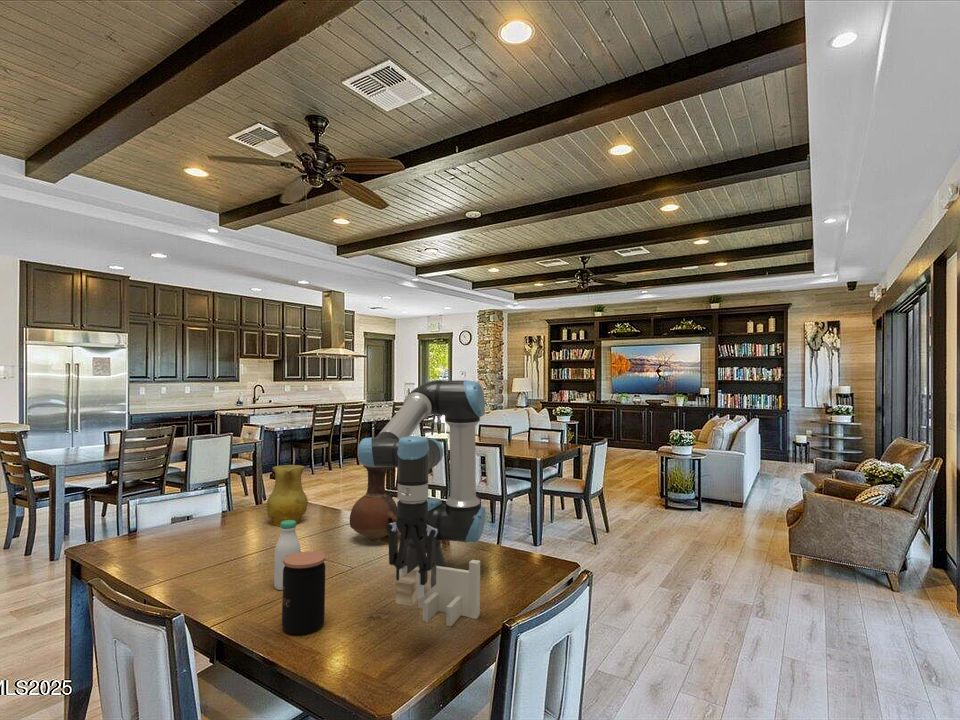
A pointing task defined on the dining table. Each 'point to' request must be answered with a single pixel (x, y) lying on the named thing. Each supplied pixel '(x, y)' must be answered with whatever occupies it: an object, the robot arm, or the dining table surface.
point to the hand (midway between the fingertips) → (411, 595)
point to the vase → (374, 507)
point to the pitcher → (287, 495)
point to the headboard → (453, 594)
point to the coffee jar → (303, 592)
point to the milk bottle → (284, 550)
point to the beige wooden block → (413, 586)
